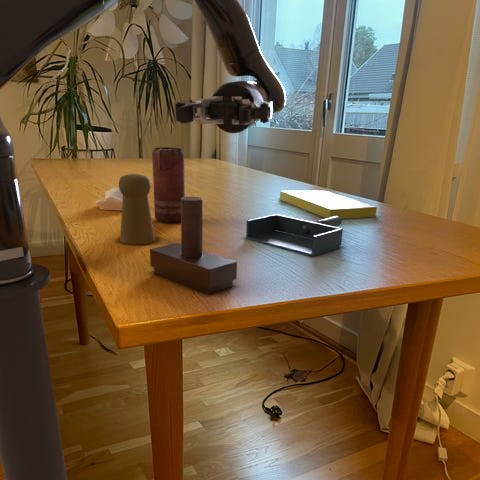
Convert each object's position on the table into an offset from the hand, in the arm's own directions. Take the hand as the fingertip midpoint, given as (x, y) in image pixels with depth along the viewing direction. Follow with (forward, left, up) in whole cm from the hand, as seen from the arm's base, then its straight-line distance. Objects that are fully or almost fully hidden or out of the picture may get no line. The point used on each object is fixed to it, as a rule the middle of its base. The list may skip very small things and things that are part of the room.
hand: (211, 115), depth 66 cm
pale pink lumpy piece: (-16, +40, -21) cm, 48 cm away
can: (-5, +27, -21) cm, 34 cm away
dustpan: (+20, +12, -21) cm, 31 cm away
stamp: (-3, -9, -21) cm, 23 cm away
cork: (-11, +12, -21) cm, 26 cm away
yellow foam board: (+32, +40, -21) cm, 55 cm away
